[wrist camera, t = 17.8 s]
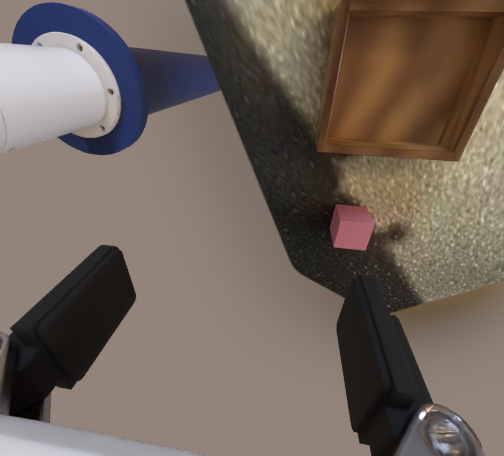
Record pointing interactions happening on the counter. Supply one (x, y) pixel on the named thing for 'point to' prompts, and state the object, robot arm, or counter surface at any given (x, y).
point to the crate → (409, 76)
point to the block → (351, 227)
